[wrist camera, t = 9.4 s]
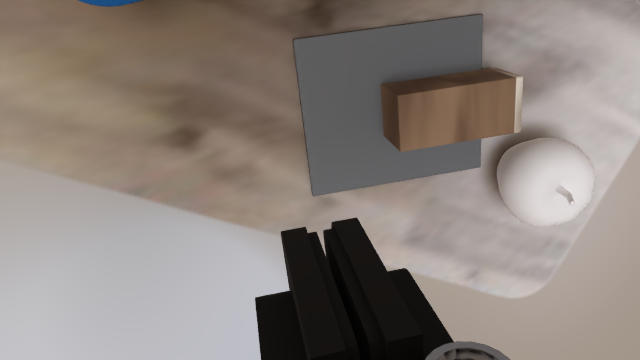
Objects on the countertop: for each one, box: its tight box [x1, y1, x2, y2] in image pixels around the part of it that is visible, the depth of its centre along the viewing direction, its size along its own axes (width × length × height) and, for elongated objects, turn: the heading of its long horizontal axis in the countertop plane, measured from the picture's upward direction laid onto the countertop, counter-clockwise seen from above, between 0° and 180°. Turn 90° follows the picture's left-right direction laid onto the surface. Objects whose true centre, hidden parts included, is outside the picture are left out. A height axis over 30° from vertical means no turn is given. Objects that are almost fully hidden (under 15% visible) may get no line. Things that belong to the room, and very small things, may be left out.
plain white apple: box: [497, 138, 595, 227], centre depth 39 cm, size 7×7×8 cm
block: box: [381, 67, 523, 152], centre depth 37 cm, size 4×4×9 cm
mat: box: [293, 14, 483, 196], centre depth 38 cm, size 14×12×1 cm
